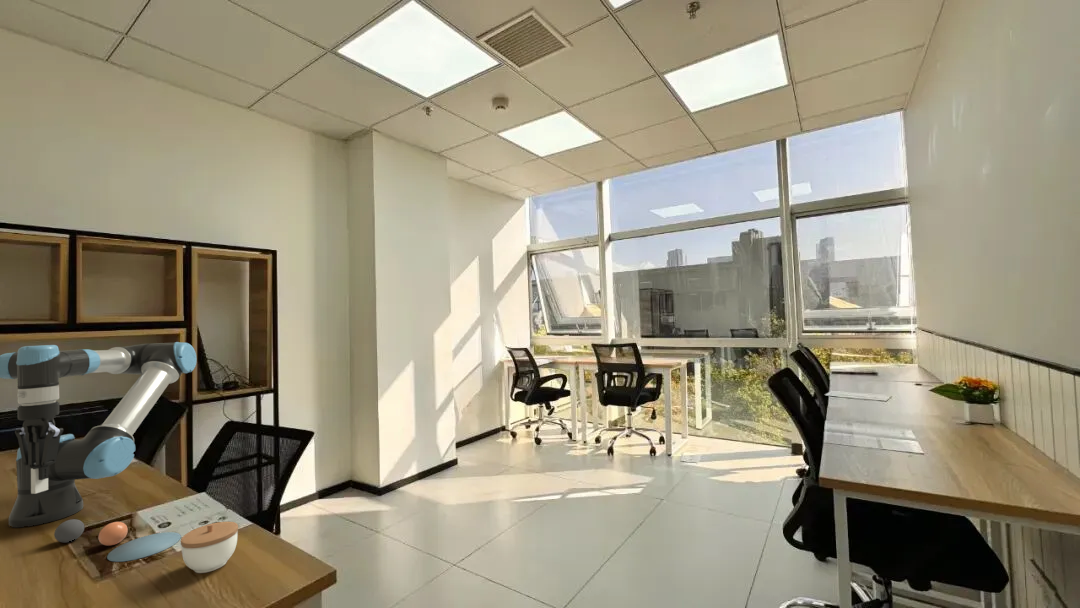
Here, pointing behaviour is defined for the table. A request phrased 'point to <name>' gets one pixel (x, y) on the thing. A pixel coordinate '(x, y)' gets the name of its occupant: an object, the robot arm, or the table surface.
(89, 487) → the table surface
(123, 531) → the terracotta ball
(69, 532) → the charcoal ball
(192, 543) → the lidded jar
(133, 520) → the table surface
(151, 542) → the slate mark
